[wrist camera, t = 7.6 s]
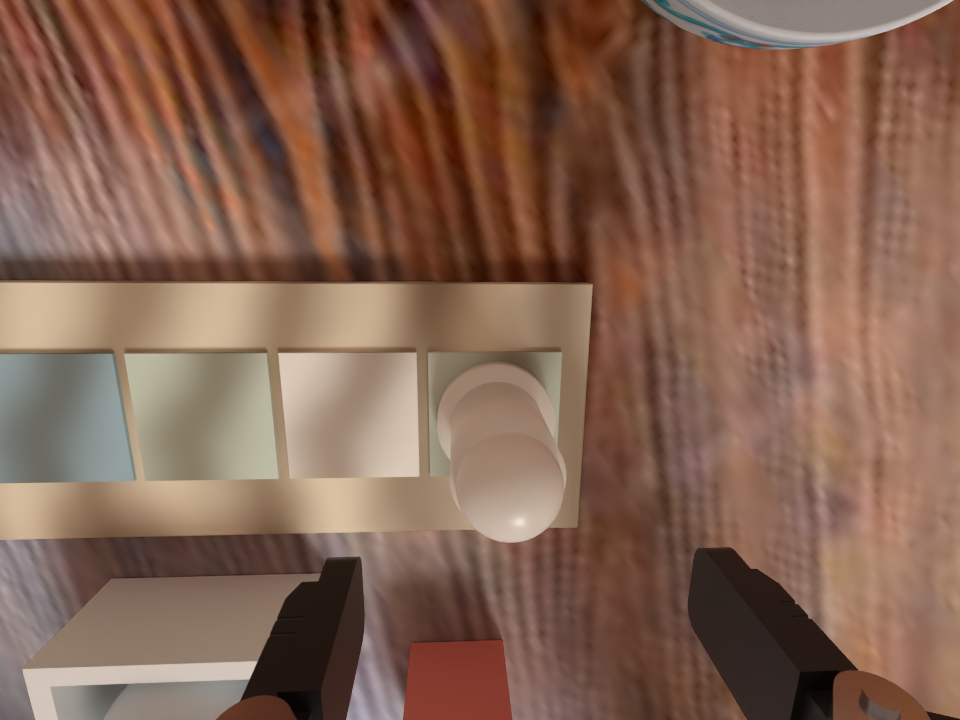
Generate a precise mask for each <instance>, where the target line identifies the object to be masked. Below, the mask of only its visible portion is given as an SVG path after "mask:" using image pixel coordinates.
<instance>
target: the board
mask: <svg viewBox="0 0 960 720" xmlns="http://www.w3.org/2000/svg"><path fill="white" fill-rule="evenodd" d="M592 287H593V284H590V283H587V282H344V281H52V280H0V540H14V539H60V538H107V537H154V536H200V535H247V534H293V533H340V532H386V531H433V530H476V529H474V528H473V527H472V526H471V525H470V523H469V522H468V521H467V519H466V518H465V517H464V515H463V513H462V512H461V511H460V509H459V508H458V507H457V505H456V503H455V501H454V499H453V496H452V493H451V488H450V460H449V458H448V457H447V456H446V454H445V453H444V451H443V449H442V447H441V444H440V442H439V438H438V433H437V417H438V408H439V403H440V400H441V397H442V394H443V392H444V391H445V389H446V387H447V386H448V384H449V383H450V382H451V381H452V380H453V379H454V378H455V377H456V376H457V375H458V374H459V373H461V372H462V371H464V370H465V369H467V368H469V367H471V366H473V365H476V364H479V363H484V362H490V361H501V362H508V363H512V364H515V365H518V366H520V367H522V368H524V369H525V370H527V371H529V372H530V373H531V374H532V375H533V376H535V377H536V378H537V380H538V381H539V382H540V383H541V385H542V386H543V388H544V389H545V391H546V393H547V394H548V396H549V398H550V400H551V402H552V405H553V408H554V412H555V433H554V437H553V439H554V441H555V443H556V445H557V447H558V449H559V451H560V453H561V455H562V457H563V460H564V463H565V468H566V486H565V489H564V496H563V501H562V505H561V508H560V510H559V513H558V514H557V516H556V518H555V519H554V521H553V522H552V523H551V525H550V526H549V527H548V528H573V527H578V512H579V496H580V480H581V464H582V448H583V432H584V416H585V400H586V384H587V368H588V352H589V336H590V320H591V303H592Z"/></svg>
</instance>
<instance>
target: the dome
mask: <svg viewBox="0 0 960 720" xmlns="http://www.w3.org/2000/svg"><path fill="white" fill-rule="evenodd" d="M249 680H250V679H246V680H218V681H190V682H162V683H134V684H128V685H127V686H126V688H125V689H124V690H123V691H122V692H121V693H120V695H119V696H118V697H117V698H116V700H115V701H114V703H113V704H112V706H111V707H110V709H109V711H108V712H107V714H106V715H105V717H104V719H103V720H216V719H217V718H218V717H219V716H220V715H221V714H222V713H223V712H224V711H226V710H227V709H228V708H230V707H231V706H233V705H234V704H236V703H238V702H240V700H241V698H242V696H243V693H244V691H245V689H246V686H247V684H248V682H249Z"/></svg>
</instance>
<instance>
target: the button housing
mask: <svg viewBox="0 0 960 720" xmlns="http://www.w3.org/2000/svg"><path fill="white" fill-rule="evenodd" d="M320 575H321V573H315V574H276V575H237V576H197V577H158V578H119V579H110V580H109V581H108V582H107V583H106V584H105V585H104V586H103V588H102V589H101V590H100V591H99V592H98V593H97V594H96V595H95V596H94V597H93V598H92V599H91V600H90V601H89V602H88V603H87V604H86V605H85V606H84V607H83V608H82V609H81V610H80V611H79V612H78V613H77V614H76V615H75V616H74V617H73V618H72V619H71V620H70V621H69V622H68V623H67V624H66V625H65V626H64V627H63V628H62V629H61V630H60V631H59V632H58V633H57V634H56V635H55V636H54V637H53V638H52V639H51V640H50V641H49V642H48V643H47V644H46V645H45V646H44V647H43V648H42V650H41V651H40V652H39V653H38V654H37V655H36V656H35V657H34V658H33V659H32V660H31V661H30V662H29V663H28V664H27V665H26V666H25V667H24V668H23V669H22V671H23V674H24V678H25V682H26V686H27V690H28V694H29V698H30V701H31V705H32V709H33V713H34V717H35V720H103V719H104V717H105V715H106V714H107V712H108V711H109V709H110V707H111V706H112V704H113V703H114V701H115V700H116V698H117V697H118V696H119V695H120V693H121V692H122V691H123V690H124V689H125V688H126V686H127V685H128V684H134V683H162V682H190V681H218V680H246V679H250V677H251V675H252V673H253V671H254V668H255V666H256V664H257V662H258V659H259V657H260V655H261V653H262V650H263V648H264V646H265V644H266V641H267V639H268V637H270V632H271V630H272V628H273V625H274V623H275V621H277V616H278V614H279V612H280V610H281V607H282V605H283V603H284V601H285V598H286V597H287V596H288V595H289V594H290V593H291V592H292V591H293V590H294V589H295V588H296V587H297V586H298V585H299V584H300V583H301V582H310V581H318V580H319V578H320Z"/></svg>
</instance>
